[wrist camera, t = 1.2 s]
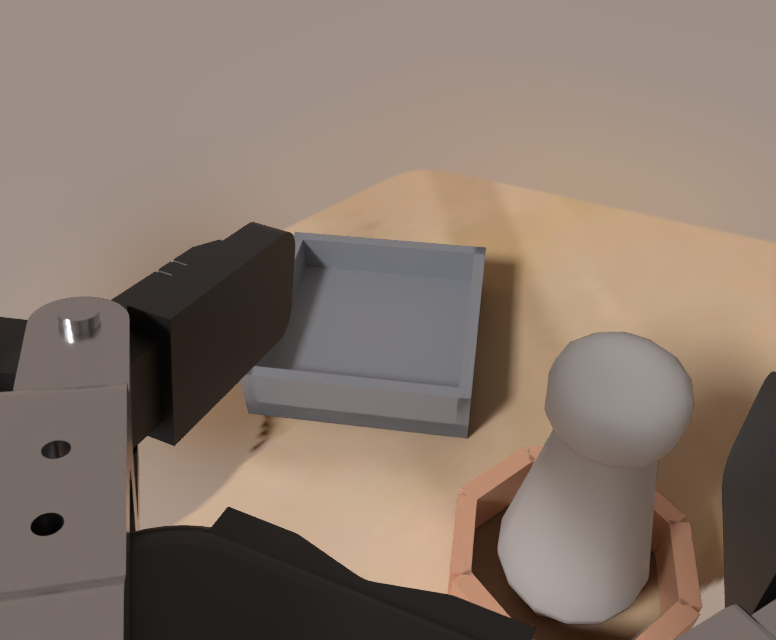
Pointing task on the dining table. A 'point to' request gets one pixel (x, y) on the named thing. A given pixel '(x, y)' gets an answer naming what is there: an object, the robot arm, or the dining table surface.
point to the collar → (666, 544)
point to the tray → (376, 336)
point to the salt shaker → (595, 478)
